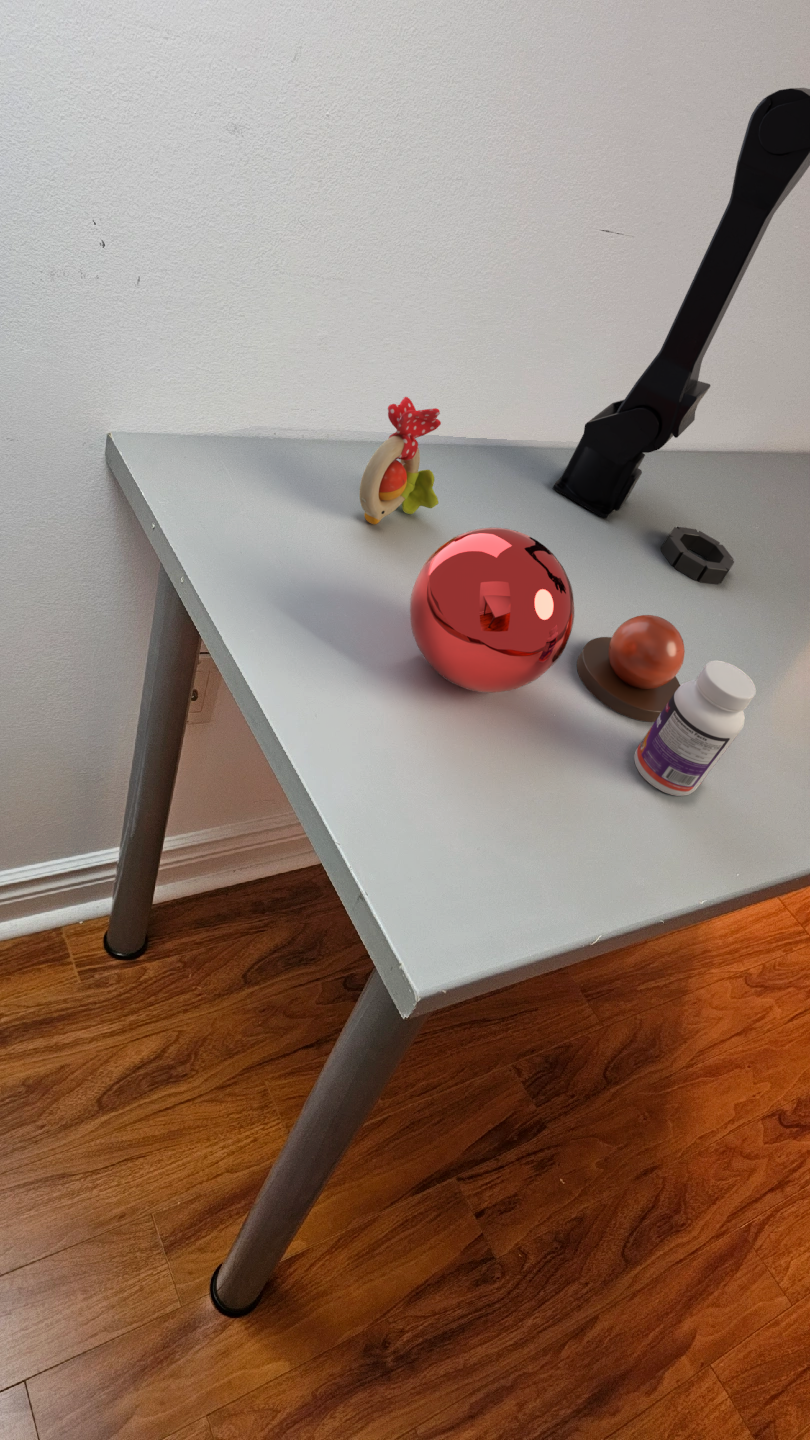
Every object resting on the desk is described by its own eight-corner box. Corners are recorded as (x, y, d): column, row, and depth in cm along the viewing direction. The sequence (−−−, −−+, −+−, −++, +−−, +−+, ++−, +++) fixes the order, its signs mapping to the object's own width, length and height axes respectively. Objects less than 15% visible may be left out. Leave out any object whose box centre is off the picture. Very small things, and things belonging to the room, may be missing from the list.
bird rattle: (392, 559, 93) (449, 498, 97) (406, 474, 83) (468, 409, 87) (335, 523, 94) (394, 463, 98) (342, 435, 84) (407, 373, 88)
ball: (364, 618, 82) (418, 487, 74) (492, 620, 88) (553, 500, 80) (424, 729, 74) (489, 597, 67) (558, 723, 80) (633, 602, 73)
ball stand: (561, 678, 85) (598, 616, 81) (596, 633, 92) (631, 574, 88) (658, 738, 84) (700, 679, 79) (686, 688, 90) (726, 630, 86)
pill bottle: (656, 738, 84) (721, 646, 77) (708, 784, 81) (778, 693, 75) (618, 758, 80) (683, 663, 74) (671, 807, 78) (742, 713, 72)
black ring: (654, 556, 106) (663, 542, 105) (672, 533, 112) (680, 519, 110) (715, 592, 105) (724, 578, 104) (730, 567, 111) (739, 553, 109)
